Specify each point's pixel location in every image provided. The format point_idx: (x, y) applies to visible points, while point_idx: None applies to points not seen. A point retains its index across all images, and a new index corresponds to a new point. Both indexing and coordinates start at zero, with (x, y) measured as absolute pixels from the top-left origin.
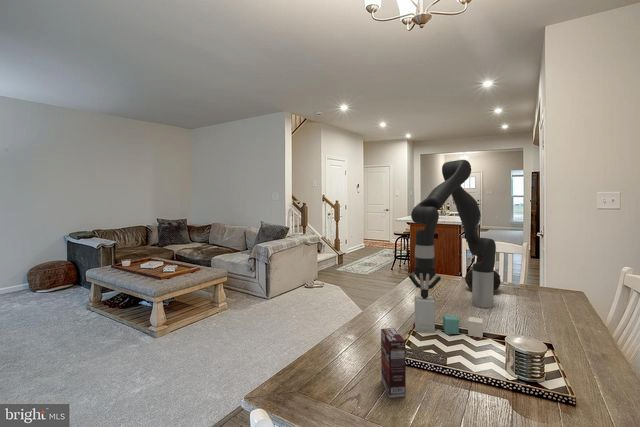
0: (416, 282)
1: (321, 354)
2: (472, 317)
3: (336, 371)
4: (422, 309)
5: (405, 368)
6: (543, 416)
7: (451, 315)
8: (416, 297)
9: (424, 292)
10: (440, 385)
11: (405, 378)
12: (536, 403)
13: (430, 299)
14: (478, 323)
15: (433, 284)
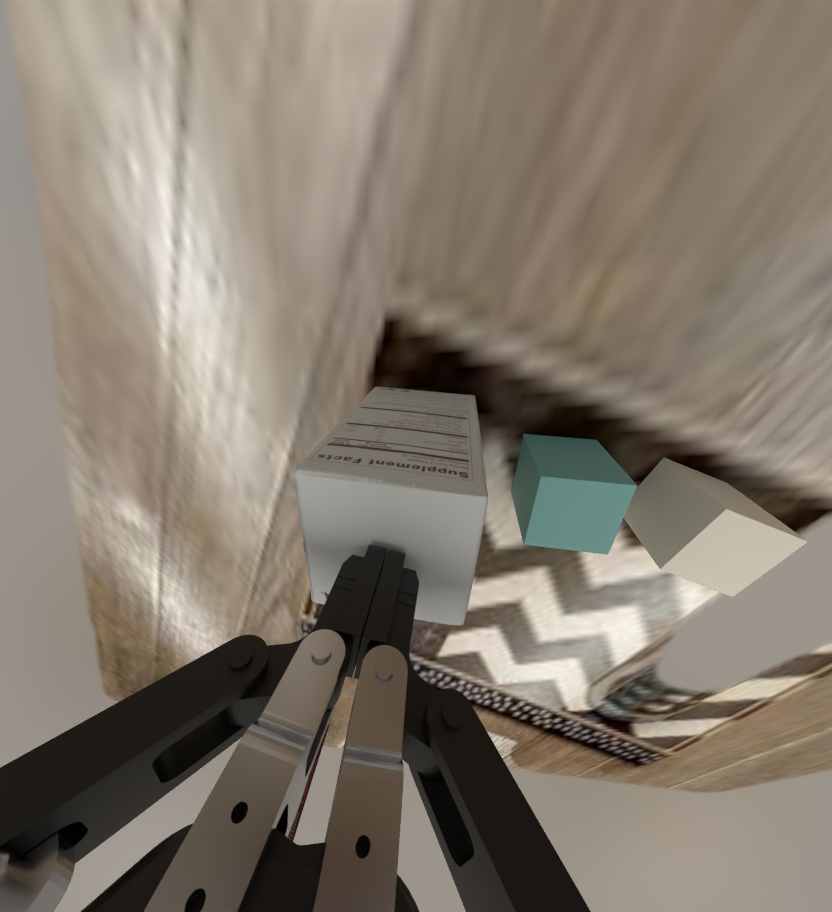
0: (188, 774)
1: (117, 604)
2: (741, 521)
3: (187, 657)
4: None
5: (307, 793)
6: (552, 768)
7: (599, 490)
8: (310, 527)
9: (367, 618)
10: None
11: (316, 764)
12: (566, 753)
13: (436, 586)
14: (707, 584)
15: (456, 829)
